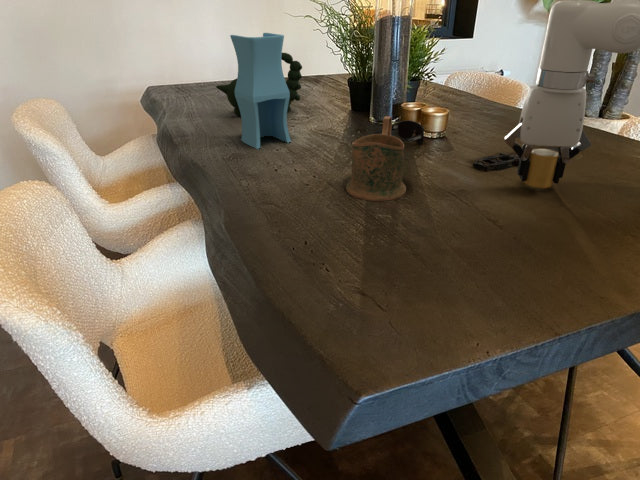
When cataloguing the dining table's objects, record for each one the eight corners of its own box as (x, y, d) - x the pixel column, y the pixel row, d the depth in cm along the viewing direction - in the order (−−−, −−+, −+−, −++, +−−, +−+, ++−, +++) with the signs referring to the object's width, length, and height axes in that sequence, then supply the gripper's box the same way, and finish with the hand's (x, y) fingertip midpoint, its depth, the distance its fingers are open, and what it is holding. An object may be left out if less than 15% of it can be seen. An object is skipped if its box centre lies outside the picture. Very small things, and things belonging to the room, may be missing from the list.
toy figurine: (296, 114, 156) (216, 111, 151) (300, 51, 147) (216, 46, 143) (300, 122, 148) (216, 118, 143) (304, 55, 139) (215, 49, 134)
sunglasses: (429, 146, 119) (429, 126, 116) (389, 160, 115) (388, 139, 112) (403, 135, 127) (402, 117, 125) (365, 148, 123) (363, 129, 120)
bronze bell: (413, 172, 103) (418, 115, 98) (401, 204, 89) (406, 139, 83) (360, 167, 106) (361, 111, 101) (339, 197, 91) (340, 134, 86)
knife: (553, 150, 116) (555, 144, 115) (575, 158, 111) (577, 152, 110) (466, 164, 108) (467, 157, 107) (485, 173, 102) (486, 166, 102)
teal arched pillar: (272, 133, 130) (266, 32, 119) (291, 142, 123) (287, 35, 112) (238, 139, 126) (229, 35, 114) (256, 149, 118) (248, 38, 107)
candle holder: (548, 179, 94) (555, 148, 91) (554, 188, 90) (562, 157, 87) (521, 177, 95) (527, 147, 92) (526, 186, 91) (532, 155, 88)
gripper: (606, 78, 86) (580, 176, 94) (505, 75, 88) (489, 170, 97) (621, 86, 79) (592, 190, 88) (511, 82, 82) (493, 184, 90)
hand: (538, 178), depth 92 cm, fingers closed on candle holder, 5 cm apart
